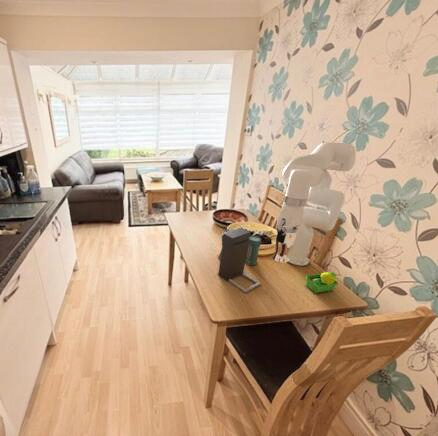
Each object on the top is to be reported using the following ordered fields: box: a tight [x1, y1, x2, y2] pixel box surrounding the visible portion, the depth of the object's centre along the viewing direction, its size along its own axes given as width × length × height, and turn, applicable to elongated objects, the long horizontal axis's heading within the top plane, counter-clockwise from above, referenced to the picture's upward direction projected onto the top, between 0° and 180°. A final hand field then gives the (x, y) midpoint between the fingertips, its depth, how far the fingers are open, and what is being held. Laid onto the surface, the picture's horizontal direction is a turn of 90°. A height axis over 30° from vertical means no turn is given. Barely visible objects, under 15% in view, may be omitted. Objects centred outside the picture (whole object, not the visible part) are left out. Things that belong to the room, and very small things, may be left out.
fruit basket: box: [305, 271, 339, 294], centre depth 111 cm, size 11×9×11 cm
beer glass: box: [272, 226, 297, 264], centre depth 103 cm, size 7×7×15 cm
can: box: [245, 235, 262, 266], centre depth 131 cm, size 6×6×15 cm
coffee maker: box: [217, 227, 261, 293], centre depth 115 cm, size 12×17×24 cm
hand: (285, 239), depth 102 cm, fingers closed on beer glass, 7 cm apart
